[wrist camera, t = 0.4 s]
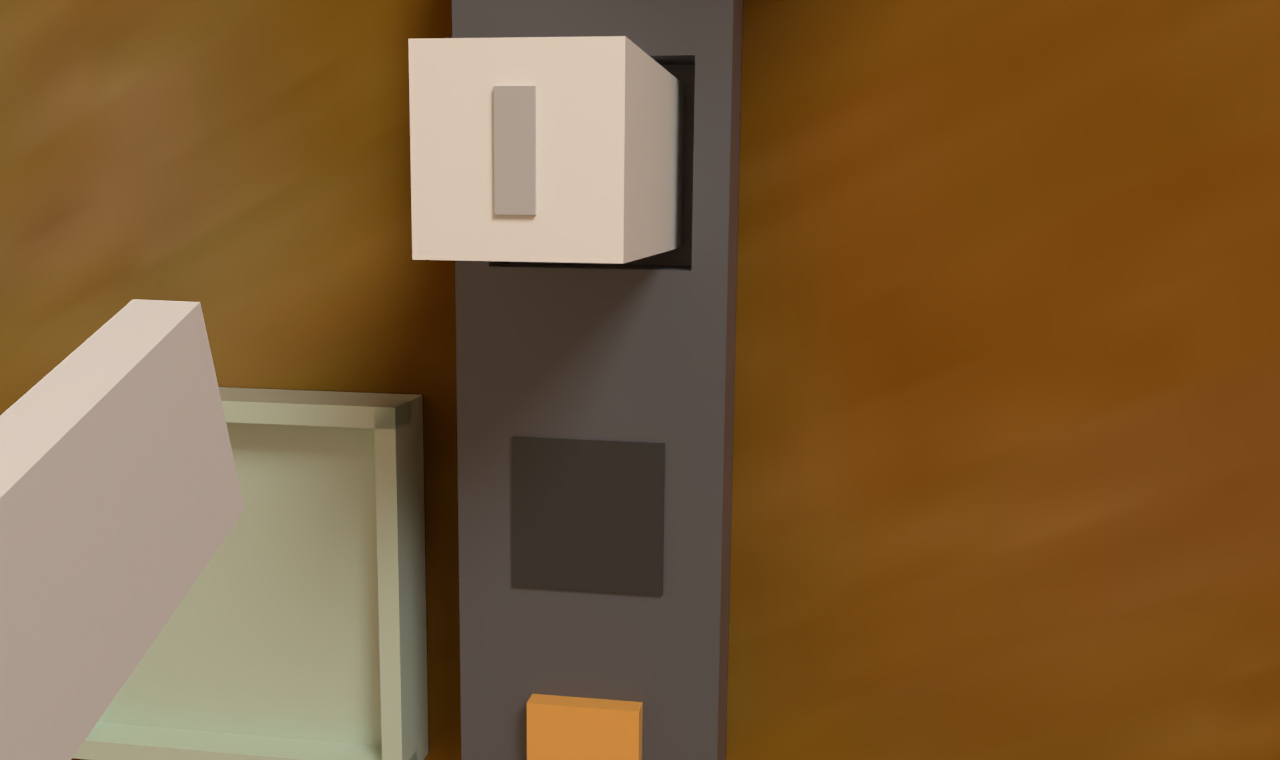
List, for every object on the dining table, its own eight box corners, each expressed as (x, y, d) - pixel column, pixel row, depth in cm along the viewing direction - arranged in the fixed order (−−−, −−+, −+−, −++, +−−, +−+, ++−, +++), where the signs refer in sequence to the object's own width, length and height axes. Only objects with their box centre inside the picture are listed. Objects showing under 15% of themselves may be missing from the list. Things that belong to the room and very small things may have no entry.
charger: (681, 247, 31) (622, 263, 22) (527, 244, 32) (410, 260, 23) (684, 84, 31) (624, 35, 22) (527, 85, 31) (406, 38, 22)
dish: (428, 753, 36) (402, 788, 34) (95, 724, 37) (51, 756, 35) (422, 394, 34) (395, 407, 32) (74, 381, 36) (26, 393, 34)
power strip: (721, 952, 35) (708, 1035, 32) (494, 927, 36) (457, 1005, 33) (745, -105, 31) (734, -146, 27) (485, -98, 32) (442, -135, 28)
